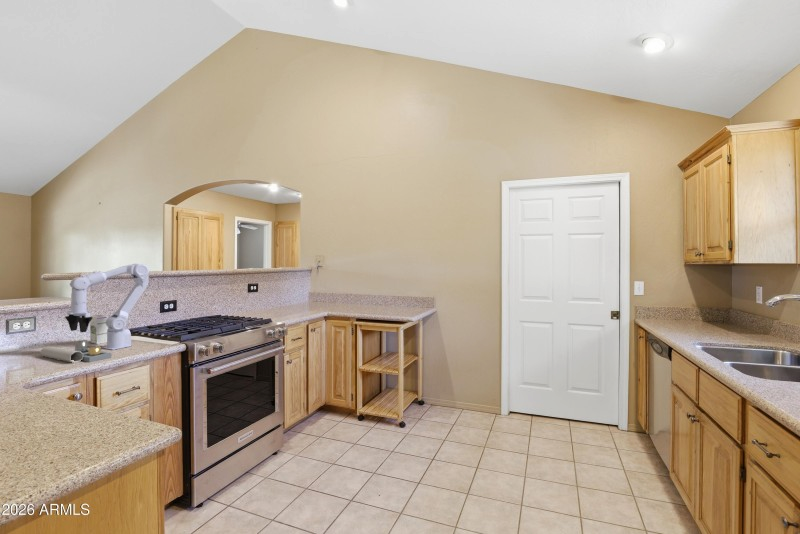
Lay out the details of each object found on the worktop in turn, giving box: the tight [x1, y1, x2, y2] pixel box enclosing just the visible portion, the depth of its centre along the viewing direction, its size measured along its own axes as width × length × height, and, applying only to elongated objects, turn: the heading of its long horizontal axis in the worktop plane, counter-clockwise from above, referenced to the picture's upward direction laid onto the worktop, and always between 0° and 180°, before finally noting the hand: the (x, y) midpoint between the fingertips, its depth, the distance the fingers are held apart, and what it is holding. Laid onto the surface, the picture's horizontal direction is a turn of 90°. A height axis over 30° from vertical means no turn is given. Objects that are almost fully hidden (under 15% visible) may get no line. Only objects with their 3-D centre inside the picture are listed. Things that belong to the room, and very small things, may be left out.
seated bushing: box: [87, 346, 102, 356], centre depth 178 cm, size 4×4×5 cm
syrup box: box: [89, 314, 109, 345], centre depth 208 cm, size 6×6×14 cm
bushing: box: [74, 339, 88, 353], centre depth 181 cm, size 4×4×7 cm
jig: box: [82, 348, 113, 363], centre depth 180 cm, size 9×19×2 cm, turn 67°
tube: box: [40, 345, 83, 364], centre depth 176 cm, size 5×5×25 cm
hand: (78, 331), depth 186 cm, fingers open, 7 cm apart
